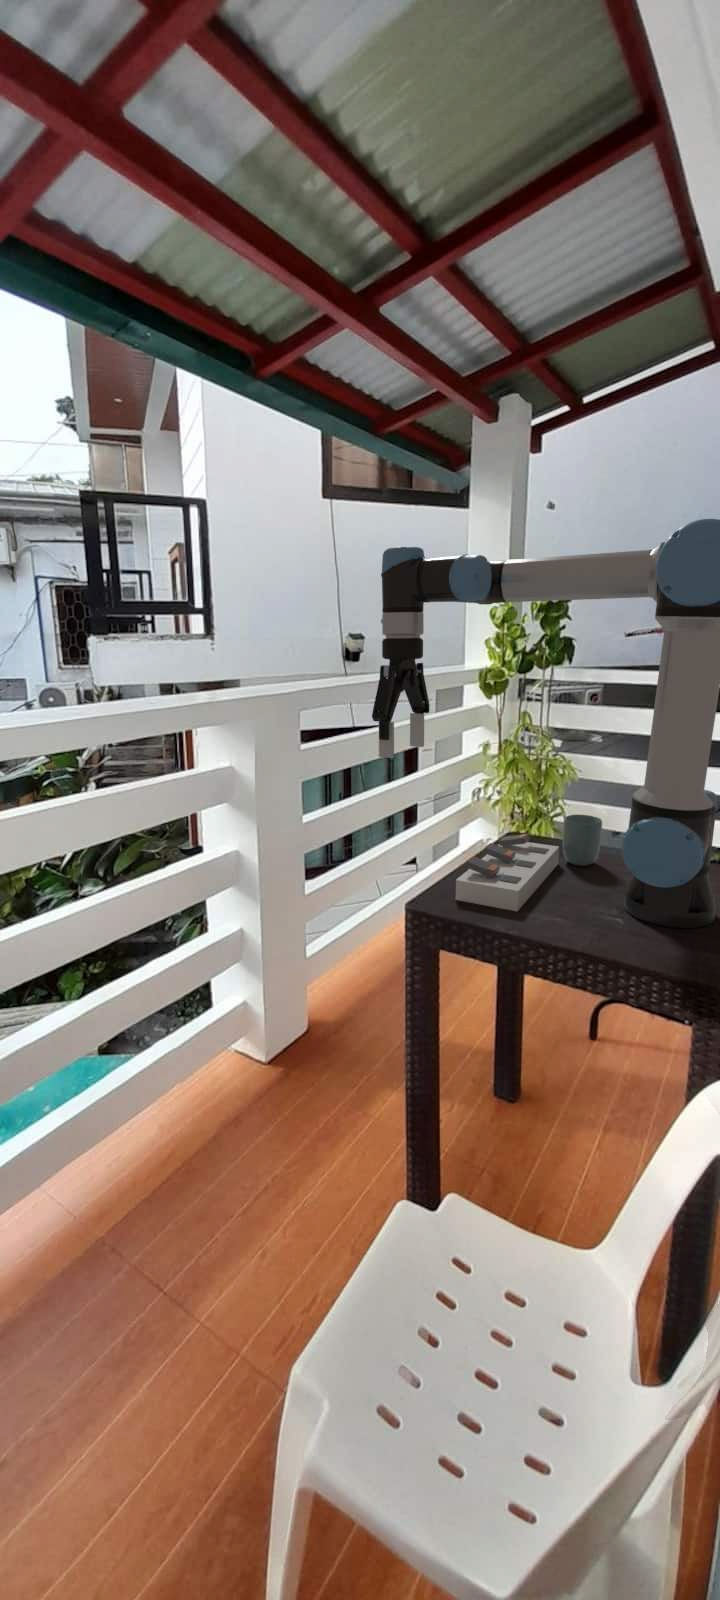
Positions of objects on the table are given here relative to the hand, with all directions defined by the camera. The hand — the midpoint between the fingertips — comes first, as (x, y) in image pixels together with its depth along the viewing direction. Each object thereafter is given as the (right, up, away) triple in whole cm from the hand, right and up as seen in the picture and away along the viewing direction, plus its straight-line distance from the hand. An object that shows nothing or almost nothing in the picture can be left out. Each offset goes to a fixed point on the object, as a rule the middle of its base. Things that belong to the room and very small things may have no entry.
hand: (402, 751), depth 133 cm
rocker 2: (+20, -20, +10) cm, 30 cm away
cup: (+40, -23, +20) cm, 51 cm away
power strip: (+25, -25, +13) cm, 38 cm away
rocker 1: (+16, -22, +1) cm, 27 cm away
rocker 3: (+25, -18, +18) cm, 36 cm away
